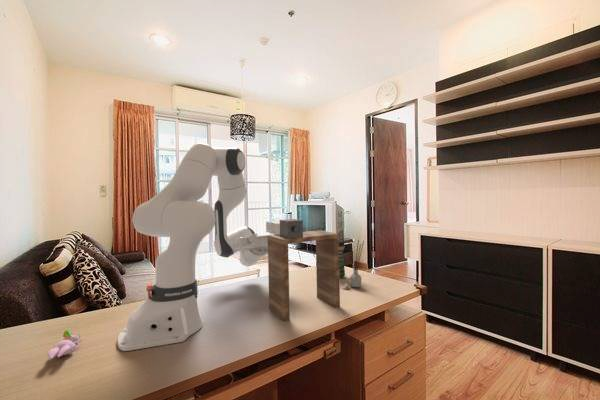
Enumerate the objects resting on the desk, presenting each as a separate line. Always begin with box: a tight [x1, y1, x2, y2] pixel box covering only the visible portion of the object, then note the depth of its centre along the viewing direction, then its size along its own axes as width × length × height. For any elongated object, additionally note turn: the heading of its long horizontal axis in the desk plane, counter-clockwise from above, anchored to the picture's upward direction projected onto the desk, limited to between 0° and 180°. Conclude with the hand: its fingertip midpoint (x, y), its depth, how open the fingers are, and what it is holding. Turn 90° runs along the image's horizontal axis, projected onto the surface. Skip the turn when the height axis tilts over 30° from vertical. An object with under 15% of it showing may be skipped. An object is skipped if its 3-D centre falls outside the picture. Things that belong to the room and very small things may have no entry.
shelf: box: [267, 229, 341, 322], centre depth 101 cm, size 22×12×26 cm, turn 119°
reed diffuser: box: [343, 239, 365, 289], centre depth 121 cm, size 10×7×20 cm
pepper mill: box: [265, 218, 304, 239], centre depth 101 cm, size 6×21×6 cm, turn 29°
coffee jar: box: [339, 237, 346, 279], centre depth 138 cm, size 10×8×19 cm
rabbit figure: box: [47, 328, 83, 360], centre depth 75 cm, size 6×6×15 cm
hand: (267, 234), depth 114 cm, fingers open, 8 cm apart
